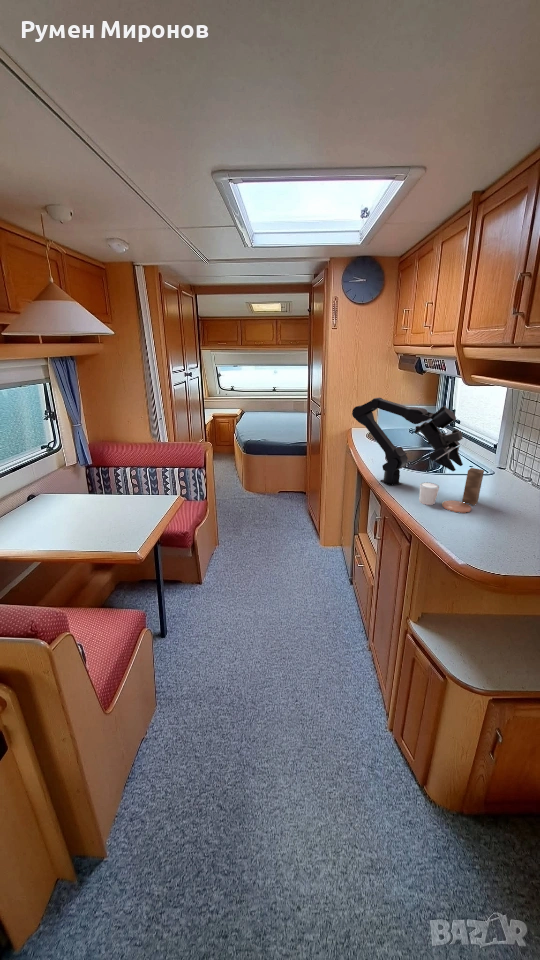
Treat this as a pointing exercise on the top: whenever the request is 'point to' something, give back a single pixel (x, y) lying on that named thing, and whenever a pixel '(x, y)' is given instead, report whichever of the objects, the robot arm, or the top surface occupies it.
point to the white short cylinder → (428, 493)
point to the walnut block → (473, 486)
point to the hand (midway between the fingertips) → (458, 468)
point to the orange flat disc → (456, 506)
